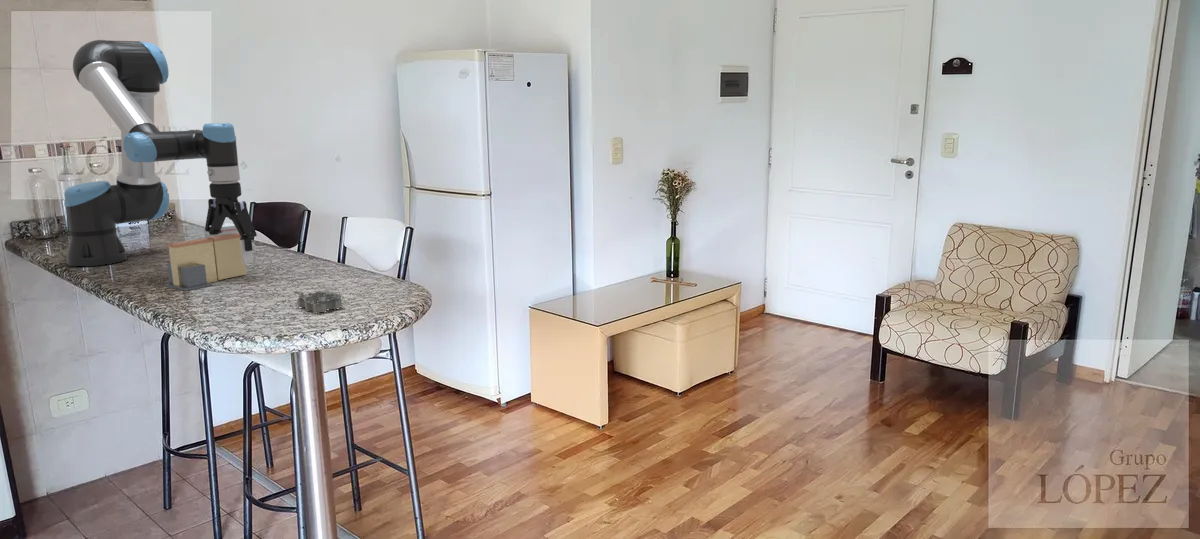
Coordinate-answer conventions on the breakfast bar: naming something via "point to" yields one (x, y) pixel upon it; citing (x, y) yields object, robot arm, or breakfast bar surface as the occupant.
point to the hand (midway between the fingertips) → (233, 260)
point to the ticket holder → (191, 264)
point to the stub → (228, 256)
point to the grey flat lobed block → (319, 301)
